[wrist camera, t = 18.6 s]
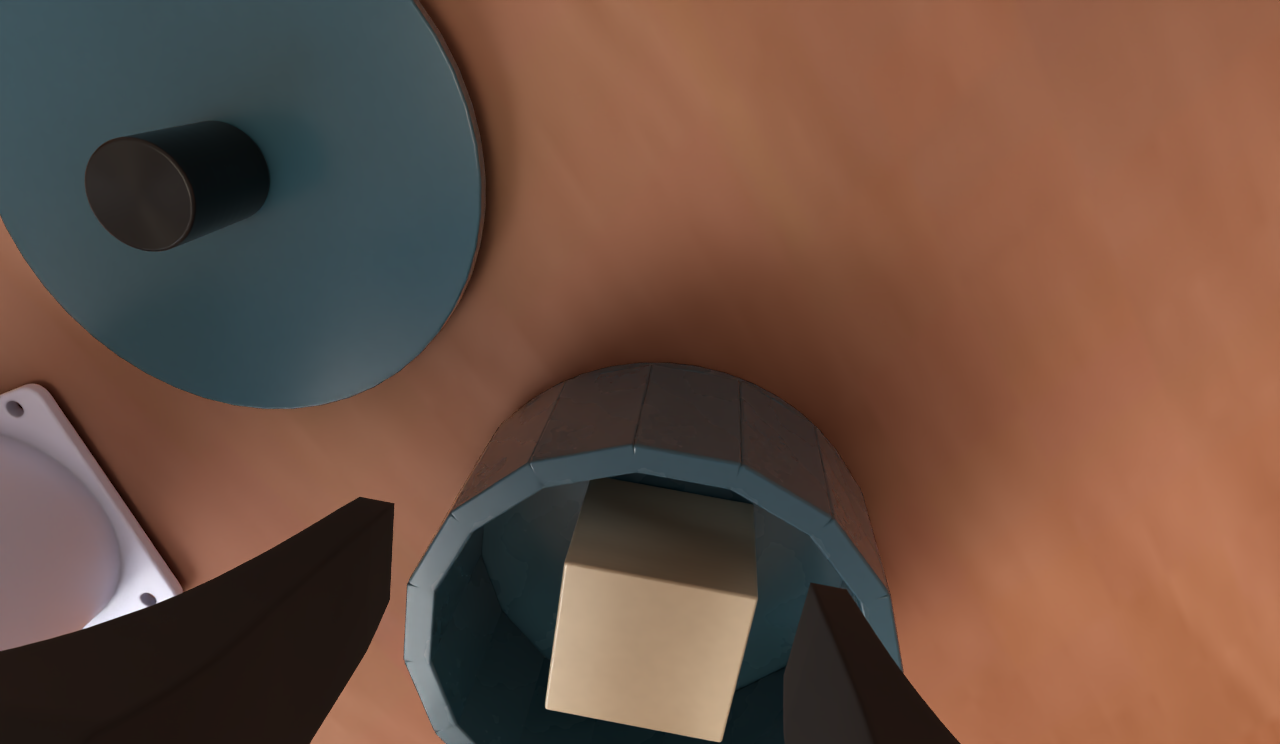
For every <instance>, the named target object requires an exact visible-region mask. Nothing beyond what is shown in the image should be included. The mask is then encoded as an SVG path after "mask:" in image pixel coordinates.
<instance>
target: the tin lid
mask: <svg viewBox="0 0 1280 744" xmlns="http://www.w3.org/2000/svg"><path fill="white" fill-rule="evenodd" d="M485 197H486V176H485V167H484V158H483V150H482V142H481V137H480V133H479V129H478V125H477V121H476V117H475V112H474V108H473V105H472V102H471V99H470V97H469V94H468V91H467V88H466V86H465V83H464V80H463V78H462V75H461V72H460V70H459V68H458V66H457V64H456V62H455V60H454V58H453V56H452V54H451V52H450V50H449V48H448V46H447V44H446V42H445V40H444V38H443V36H442V34H441V33H440V31H439V30H438V28H437V27H436V25H435V24H434V22H433V21H432V19H431V18H430V16H429V15H428V13H427V12H426V10H425V9H424V7H423V6H422V4H421V3H420V1H419V0H0V216H1V218H2V220H3V222H4V224H5V227H6V229H7V230H8V232H9V234H10V235H11V237H12V239H13V241H14V242H15V244H16V246H17V247H18V249H19V251H20V253H21V254H22V256H23V258H24V259H25V261H26V262H27V263H28V265H29V266H30V267H31V269H32V270H33V272H34V273H35V274H36V276H37V277H38V279H39V280H40V281H41V283H42V284H43V285H44V287H45V288H46V289H47V290H48V291H49V292H50V294H51V295H52V296H53V297H54V298H55V299H56V300H57V301H58V303H59V304H60V305H61V306H62V307H63V308H64V309H65V311H66V312H67V313H68V314H69V315H70V316H71V317H73V318H74V319H75V320H76V321H77V322H78V323H79V324H80V325H81V326H82V327H83V328H84V329H85V330H87V331H88V332H89V333H90V334H91V335H92V336H93V337H94V338H96V339H97V340H98V341H100V342H101V343H102V344H104V345H105V346H106V347H107V348H109V349H110V350H111V351H113V352H114V353H115V354H117V355H118V356H119V357H121V358H123V359H124V360H126V361H127V362H129V363H131V364H132V365H134V366H135V367H137V368H139V369H140V370H142V371H144V372H145V373H147V374H149V375H151V376H153V377H155V378H157V379H159V380H161V381H163V382H165V383H167V384H169V385H171V386H173V387H176V388H178V389H181V390H184V391H187V392H189V393H192V394H195V395H198V396H200V397H203V398H207V399H211V400H215V401H219V402H223V403H227V404H231V405H237V406H245V407H253V408H261V409H295V408H303V407H311V406H318V405H324V404H328V403H331V402H335V401H339V400H342V399H346V398H350V397H352V396H354V395H357V394H359V393H361V392H364V391H366V390H368V389H371V388H373V387H375V386H377V385H378V384H380V383H382V382H383V381H385V380H386V379H388V378H390V377H391V376H393V375H395V374H396V373H398V372H399V371H400V370H402V369H403V368H404V367H405V366H406V365H407V364H409V363H410V362H411V361H412V360H413V359H415V358H416V357H417V356H418V355H419V354H420V353H421V352H422V351H423V350H424V349H425V348H426V347H427V346H428V345H429V343H430V342H431V341H432V340H433V339H434V338H435V337H436V335H437V334H438V333H439V332H440V331H441V330H442V329H443V327H444V326H445V324H446V323H447V321H448V320H449V318H450V317H451V315H452V313H453V312H454V310H455V309H456V307H457V306H458V304H459V302H460V300H461V298H462V296H463V294H464V291H465V289H466V287H467V285H468V282H469V280H470V278H471V276H472V273H473V269H474V266H475V262H476V259H477V255H478V252H479V248H480V245H481V238H482V232H483V225H484V218H485Z"/></svg>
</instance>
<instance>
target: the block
mask: <svg viewBox="0 0 1280 744" xmlns="http://www.w3.org/2000/svg"><path fill="white" fill-rule="evenodd" d="M757 601H758V587H757V566H756V545H755V523H754V507H753V505H752V504H748V503H742V502H737V501H731V500H726V499H720V498H715V497H709V496H704V495H699V494H693V493H688V492H682V491H677V490H671V489H666V488H660V487H655V486H649V485H644V484H638V483H633V482H627V481H622V480H616V479H611V478H600V479H594V480H590V481H589V484H588V487H587V491H586V494H585V497H584V500H583V504H582V507H581V510H580V513H579V517H578V520H577V523H576V526H575V530H574V533H573V536H572V539H571V543H570V546H569V549H568V552H567V556H566V559H565V562H564V568H563V575H562V583H561V590H560V597H559V604H558V612H557V619H556V626H555V633H554V641H553V648H552V655H551V662H550V670H549V677H548V684H547V691H546V699H545V708H546V709H548V710H553V711H558V712H563V713H569V714H574V715H579V716H584V717H589V718H595V719H600V720H605V721H610V722H615V723H621V724H626V725H631V726H636V727H641V728H647V729H652V730H657V731H662V732H667V733H673V734H678V735H683V736H688V737H693V738H699V739H704V740H709V741H714V742H721V741H722V739H723V736H724V732H725V728H726V724H727V720H728V716H729V712H730V708H731V704H732V700H733V696H734V692H735V688H736V684H737V680H738V676H739V673H740V669H741V665H742V661H743V657H744V653H745V649H746V645H747V641H748V637H749V633H750V629H751V625H752V621H753V617H754V613H755V609H756V605H757Z"/></svg>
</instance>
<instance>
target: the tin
mask: <svg viewBox="0 0 1280 744" xmlns="http://www.w3.org/2000/svg"><path fill="white" fill-rule="evenodd" d="M600 478H611V479H616V480H622V481H627V482H633V483H638V484H644V485H649V486H655V487H660V488H666V489H671V490H677V491H682V492H688V493H693V494H699V495H704V496H709V497H715V498H720V499H726V500H731V501H737V502H742V503H748V504H752V505H753V507H754V523H755V545H756V566H757V587H758V601H757V605H756V609H755V613H754V617H753V621H752V625H751V629H750V633H749V637H748V641H747V645H746V649H745V653H744V657H743V661H742V665H741V669H740V673H739V676H738V680H737V684H736V688H735V692H734V696H733V700H732V704H731V708H730V712H729V716H728V720H727V724H726V728H725V732H724V736H723V739H722V741H721V742H714V741H709V740H704V739H699V738H693V737H688V736H683V735H678V734H673V733H667V732H662V731H657V730H652V729H647V728H641V727H636V726H631V725H626V724H621V723H615V722H610V721H605V720H600V719H595V718H589V717H584V716H579V715H574V714H569V713H563V712H558V711H553V710H548V709H546V708H545V699H546V691H547V684H548V677H549V670H550V662H551V655H552V648H553V641H554V633H555V626H556V619H557V612H558V604H559V597H560V590H561V583H562V575H563V568H564V562H565V559H566V556H567V552H568V549H569V546H570V543H571V539H572V536H573V533H574V530H575V526H576V523H577V520H578V517H579V513H580V510H581V507H582V504H583V500H584V497H585V494H586V491H587V487H588V484H589V481H590V480H594V479H600ZM810 583H816V584H821V585H826V586H832V587H837V588H842V589H847V591H848V592H849V594H850V595H851V597H852V598H853V600H854V601H855V603H856V604H857V606H858V607H859V609H860V610H861V612H862V613H863V615H864V617H865V618H866V620H867V621H868V623H869V624H870V626H871V627H872V629H873V630H874V632H875V633H876V635H877V636H878V638H879V639H880V641H881V642H882V644H883V645H884V647H885V648H886V650H887V651H888V653H889V654H890V655H891V657H892V658H893V660H894V661H895V663H896V664H897V665H898V667H899V668H900V670H901V671H902V672H904V671H903V665H902V659H901V653H900V648H899V642H898V636H897V630H896V624H895V618H894V612H893V606H892V600H891V594H890V591H889V587H888V584H887V580H886V576H885V573H884V569H883V566H882V562H881V559H880V555H879V551H878V548H877V544H876V541H875V537H874V533H873V530H872V526H871V523H870V519H869V515H868V512H867V508H866V505H865V501H864V497H863V494H862V492H861V490H860V487H859V486H858V485H857V483H856V482H855V480H854V479H853V478H852V476H851V473H850V471H849V470H848V468H847V467H846V465H845V463H844V462H843V460H842V458H841V457H840V455H839V453H838V452H837V450H836V449H835V448H834V447H833V446H832V444H831V443H830V442H829V441H828V440H827V438H826V437H825V436H824V435H823V434H822V432H821V431H820V430H819V429H818V428H817V427H816V426H815V425H813V424H812V423H811V422H810V421H809V420H808V419H807V418H806V417H805V416H804V415H802V414H801V413H800V412H799V411H798V410H796V409H795V408H793V407H792V406H790V405H789V404H788V403H786V402H785V401H783V400H782V399H780V398H779V397H777V396H776V395H774V394H772V393H770V392H768V391H766V390H764V389H762V388H760V387H759V386H757V385H755V384H753V383H750V382H748V381H745V380H742V379H740V378H737V377H734V376H732V375H729V374H726V373H723V372H719V371H715V370H711V369H707V368H702V367H698V366H691V365H683V364H674V363H634V364H627V365H619V366H611V367H607V368H603V369H599V370H596V371H592V372H588V373H584V374H581V375H579V376H577V377H574V378H572V379H569V380H567V381H564V382H562V383H559V384H557V385H556V386H554V387H552V388H550V389H549V390H547V391H545V392H543V393H542V394H540V395H538V396H536V397H535V398H534V399H532V400H531V401H530V402H528V403H527V404H526V405H525V406H523V407H522V408H521V409H519V410H518V411H517V412H516V413H515V414H514V415H513V416H512V417H511V418H509V419H508V420H506V421H505V422H503V423H502V424H501V425H500V427H498V429H497V430H496V432H495V434H494V435H493V437H492V439H491V440H490V442H489V444H488V445H487V447H486V448H485V450H484V452H483V454H482V455H481V457H480V459H479V460H478V462H477V464H476V465H475V467H474V469H473V470H472V472H471V474H470V475H469V477H468V478H467V480H466V482H465V483H464V485H463V487H462V489H461V490H460V492H459V494H458V496H457V497H456V499H455V501H454V502H453V504H452V506H451V508H450V509H449V511H448V513H447V515H446V516H445V518H444V520H443V522H442V523H441V525H440V527H439V528H438V530H437V532H436V534H435V535H434V537H433V539H432V541H431V542H430V544H429V546H428V547H427V549H426V551H425V553H424V554H423V556H422V558H421V560H420V561H419V563H418V565H417V567H416V568H415V570H414V572H413V573H412V575H411V577H410V579H409V582H408V584H407V598H406V618H405V639H404V660H405V664H406V666H407V669H408V671H409V673H410V676H411V678H412V680H413V683H414V685H415V687H416V690H417V692H418V694H419V697H420V699H421V701H422V704H423V706H424V708H425V711H426V713H427V715H428V718H429V720H430V722H431V725H432V727H433V729H434V731H435V733H436V734H437V735H438V736H439V737H440V738H441V739H442V740H443V741H444V742H445V743H446V744H785V741H784V732H783V684H784V673H785V669H786V666H787V662H788V659H789V655H790V652H791V649H792V645H793V642H794V638H795V635H796V631H797V628H798V624H799V621H800V617H801V614H802V610H803V607H804V604H805V600H806V597H807V593H808V590H809V586H810Z"/></svg>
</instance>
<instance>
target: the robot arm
mask: <svg viewBox="0 0 1280 744" xmlns="http://www.w3.org/2000/svg"><path fill="white" fill-rule="evenodd" d="M17 402H18V403H19V404H20V405H21V406H22V408H23V410H22V409H21V408H20V407H19V406H18V404H17ZM393 520H394V503H389V502H384V501H379V500H373V499H368V498H363V497H359V498H357V499H355V500H353V501H352V502H350V503H348V504H346V505H345V506H343V507H341V508H340V509H338V510H336V511H335V512H333V513H331V514H330V515H328V516H326V517H325V518H323V519H321V520H320V521H318V522H316V523H315V524H313V525H311V526H310V527H308V528H306V529H305V530H303V531H301V532H300V533H298V534H296V535H294V536H293V537H291V538H289V539H287V540H286V541H284V542H282V543H281V544H279V545H277V546H275V547H274V548H272V549H270V550H268V551H267V552H265V553H263V554H261V555H259V556H257V557H255V558H253V559H251V560H249V561H247V562H245V563H243V564H242V565H240V566H238V567H236V568H234V569H232V570H230V571H228V572H226V573H224V574H222V575H220V576H218V577H216V578H214V579H212V580H210V581H208V582H206V583H204V584H201V585H199V586H197V587H195V588H193V589H190V590H188V591H186V592H183V589H182V587H181V585H180V583H179V582H178V580H177V579H176V577H175V576H174V575H173V573H172V572H171V570H170V569H169V567H168V566H167V564H166V563H165V561H164V560H163V558H162V557H161V555H160V554H159V553H158V551H157V550H156V548H155V547H154V545H153V544H152V542H151V541H150V539H149V538H148V536H147V535H146V533H145V532H144V530H143V529H142V528H141V526H140V525H139V523H138V522H137V520H136V519H135V517H134V516H133V514H132V513H131V511H130V510H129V508H128V507H127V506H126V504H125V503H124V501H123V500H122V498H121V497H120V495H119V494H118V492H117V491H116V489H115V488H114V486H113V485H112V484H111V482H110V481H109V479H108V478H107V476H106V475H105V473H104V472H103V470H102V469H101V467H100V466H99V464H98V463H97V461H96V460H95V459H94V457H93V456H92V454H91V453H90V451H89V450H88V448H87V447H86V445H85V444H84V442H83V441H82V439H81V438H80V437H79V435H78V434H77V432H76V431H75V429H74V428H73V426H72V425H71V423H70V422H69V420H68V419H67V417H66V416H65V415H64V413H63V412H62V410H61V409H60V407H59V406H58V404H57V403H56V401H55V400H54V398H53V397H52V395H51V394H50V393H49V392H48V391H47V390H46V389H45V388H44V387H42V386H40V385H38V384H34V383H31V384H26V385H23V386H21V387H18V388H16V389H13V390H11V391H8V392H6V393H3V394H1V395H0V744H310V742H311V740H312V739H313V737H314V736H315V734H316V732H317V731H318V729H319V728H320V726H321V724H322V723H323V721H324V720H325V718H326V716H327V715H328V713H329V712H330V710H331V708H332V707H333V705H334V704H335V702H336V700H337V699H338V697H339V696H340V694H341V692H342V691H343V689H344V687H345V686H346V684H347V683H348V681H349V679H350V678H351V676H352V674H353V673H354V671H355V670H356V668H357V666H358V665H359V663H360V661H361V660H362V658H363V656H364V655H365V653H366V651H367V649H368V647H369V645H370V643H371V641H372V638H373V636H374V634H375V632H376V630H377V628H378V625H379V623H380V621H381V619H382V616H383V614H384V612H385V609H386V607H387V605H388V603H389V600H390V583H391V562H392V541H393ZM150 594H152V595H153V596H154V597H153V596H152V595H150ZM783 732H784V741H785V744H960V743H959V742H958V740H957V739H956V738H955V737H954V736H953V735H952V734H951V733H950V731H949V730H948V729H947V728H946V727H945V726H944V725H943V723H942V722H941V721H940V720H939V718H938V717H937V716H936V715H935V714H934V712H933V711H932V710H931V709H930V707H929V706H928V705H927V704H926V702H925V701H924V700H923V699H922V698H921V696H920V695H919V694H918V692H917V691H916V690H915V688H914V687H913V686H912V685H911V683H910V682H909V681H908V679H907V678H906V677H905V675H904V674H903V672H902V671H901V670H900V668H899V667H898V665H897V664H896V663H895V661H894V660H893V658H892V657H891V655H890V654H889V653H888V651H887V650H886V648H885V647H884V645H883V644H882V642H881V641H880V639H879V638H878V636H877V635H876V633H875V632H874V630H873V629H872V627H871V626H870V624H869V623H868V621H867V620H866V618H865V617H864V615H863V613H862V612H861V610H860V609H859V607H858V606H857V604H856V603H855V601H854V600H853V598H852V597H851V595H850V594H849V592H848V591H847V589H842V588H837V587H832V586H826V585H821V584H816V583H810V586H809V590H808V593H807V597H806V600H805V604H804V607H803V610H802V614H801V617H800V621H799V624H798V628H797V631H796V635H795V638H794V642H793V645H792V649H791V652H790V655H789V659H788V662H787V666H786V669H785V673H784V684H783Z"/></svg>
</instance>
